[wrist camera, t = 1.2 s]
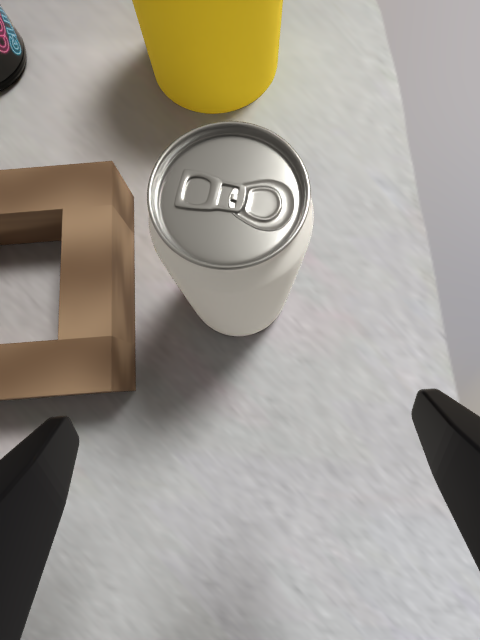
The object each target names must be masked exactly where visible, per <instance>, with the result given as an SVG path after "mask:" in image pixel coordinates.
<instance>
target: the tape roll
mask: <svg viewBox="0 0 480 640" xmlns="http://www.w3.org/2000/svg"><path fill="white" fill-rule="evenodd" d="M132 1H133V4H134V8H135V11H136V14H137V18H138V21H139V24H140V28H141V31H142V34H143V38H144V41H145V44H146V48H147V51H148V54H149V58H150V61H151V64H152V68H153V71H154V74H155V78H156V80H157V83H158V85H159V86H160V88H161V90H162V91H163V92H164V93H165V95H166V96H167V97H168V98H170V99H171V100H172V101H173V102H175V103H176V104H178V105H180V106H182V107H184V108H186V109H189V110H192V111H195V112H200V113H208V114H217V113H226V112H230V111H234V110H237V109H240V108H242V107H245V106H247V105H248V104H250V103H252V102H253V101H255V100H256V99H257V98H259V97H260V96H261V95H262V94H263V93H264V92H265V91H266V90H267V88H268V87H269V85H270V84H271V82H272V80H273V78H274V76H275V73H276V69H277V62H278V50H279V39H280V27H281V16H282V4H283V0H132Z"/></svg>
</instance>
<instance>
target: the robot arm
mask: <svg viewBox="0 0 480 640" xmlns="http://www.w3.org/2000/svg"><path fill="white" fill-rule="evenodd" d="M412 420H413V423H414V426H415V428H416V431H417V434H418V436H419V439H420V442H421V445H422V447H423V450H424V453H425V455H426V458H427V461H428V464H429V466H430V469H431V471H432V474H433V476H434V479H435V481H436V483H437V485H438V487H439V489H440V492H441V494H442V496H443V498H444V500H445V502H446V504H447V506H448V508H449V510H450V512H451V514H452V516H453V518H454V520H455V522H456V524H457V526H458V528H459V530H460V532H461V534H462V536H463V538H464V540H465V542H466V544H467V546H468V548H469V550H470V553H471V555H472V557H473V559H474V561H475V563H476V565H477V567H478V569H479V571H480V417H479V416H478V415H476V414H475V413H473V412H472V411H470V410H469V409H467V408H466V407H464V406H463V405H461V404H460V403H458V402H457V401H455V400H453V399H452V398H450V397H449V396H447V395H446V394H444V393H443V392H441V391H440V390H438V389H422V390H419V391H418V393H417V396H416V399H415V402H414V405H413V409H412ZM78 447H79V436H78V434H77V432H76V430H75V428H74V426H73V424H72V422H71V420H70V419H69V417H67V416H56V417H51V418H49V419H47V420H46V421H45V422H44V423H43V424H41V425H40V426H39V427H38V428H37V429H36V430H34V431H33V432H32V433H31V434H30V435H29V436H27V437H26V438H25V439H24V440H23V441H22V442H20V443H19V444H18V445H17V446H16V447H15V448H13V449H12V450H11V451H10V452H9V453H8V454H6V455H5V456H4V457H3V458H2V459H1V460H0V640H20V638H21V635H22V632H23V629H24V627H25V624H26V621H27V618H28V615H29V612H30V609H31V606H32V603H33V600H34V597H35V594H36V591H37V588H38V585H39V582H40V579H41V576H42V573H43V570H44V567H45V564H46V561H47V558H48V555H49V552H50V549H51V546H52V543H53V540H54V537H55V534H56V531H57V528H58V525H59V522H60V519H61V516H62V513H63V510H64V507H65V504H66V500H67V496H68V491H69V487H70V483H71V478H72V474H73V469H74V465H75V460H76V456H77V451H78Z"/></svg>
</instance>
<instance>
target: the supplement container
mask: <svg viewBox="0 0 480 640" xmlns="http://www.w3.org/2000/svg"><path fill="white" fill-rule="evenodd" d="M25 63H26V49H25V45H24V42H23V39H22V38H21V36H20V34H19V33H18V31H17V30H16V28H15V27H14V25H13V24H12V22H11V20H10V19H9V17H8V16H7V14H6V13H5V11H4V10H3V8H2V7H1V5H0V91H1V90H3V89H5V88H7V87H9V86H10V85H12V84H13V83H14V82H15V81H16V80H17V79H18V78H19V76H20V75H21V73H22V72H23V70H24V67H25Z"/></svg>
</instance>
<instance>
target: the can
mask: <svg viewBox="0 0 480 640" xmlns="http://www.w3.org/2000/svg"><path fill="white" fill-rule="evenodd" d="M147 204H148V211H149V229H150V235H151V238H152V242H153V244H154V247H155V250H156V252H157V254H158V256H159V258H160V259H161V261H162V263H163V264H164V266H165V267H166V269H167V270H168V272H169V274H170V275H171V277H172V278H173V279H174V281H175V282H176V284H177V285H178V287H179V288H180V290H181V291H182V293H183V294H184V296H185V297H186V299H187V300H188V301H189V303H190V304H191V306H192V307H193V309H194V310H195V311H196V313H197V314H198V316H199V317H200V318H201V319H202V320H203V321H204V322H205V323H206V324H207V325H208V326H209V327H211V328H212V329H214V330H215V331H217V332H220V333H222V334H226V335H230V336H247V335H251V334H254V333H257V332H259V331H261V330H263V329H265V328H266V327H268V326H269V325H270V324H271V323H272V322H273V321H274V320H275V319H276V318H277V317H278V315H279V314H280V313H281V311H282V309H283V307H284V305H285V303H286V300H287V298H288V295H289V293H290V291H291V288H292V286H293V283H294V281H295V278H296V276H297V273H298V271H299V268H300V266H301V263H302V261H303V258H304V256H305V253H306V251H307V248H308V245H309V242H310V238H311V234H312V229H313V220H314V213H313V204H312V199H311V191H310V182H309V177H308V174H307V171H306V168H305V166H304V164H303V162H302V160H301V158H300V157H299V155H298V154H297V152H296V151H295V150H294V149H293V148H292V147H291V145H290V144H289V143H287V142H286V141H285V140H284V139H283V138H281V137H280V136H279V135H277V134H275V133H274V132H272V131H270V130H268V129H266V128H263V127H261V126H258V125H255V124H251V123H246V122H238V121H224V122H216V123H211V124H207V125H203V126H200V127H198V128H195V129H193V130H191V131H189V132H187V133H185V134H184V135H182V136H181V137H179V138H178V139H177V140H175V141H174V142H173V143H172V144H171V145H170V146H169V147H168V148H167V149H166V150H165V151H164V152H163V153H162V155H161V156H160V158H159V159H158V161H157V162H156V164H155V166H154V168H153V171H152V173H151V176H150V179H149V184H148V190H147Z"/></svg>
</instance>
